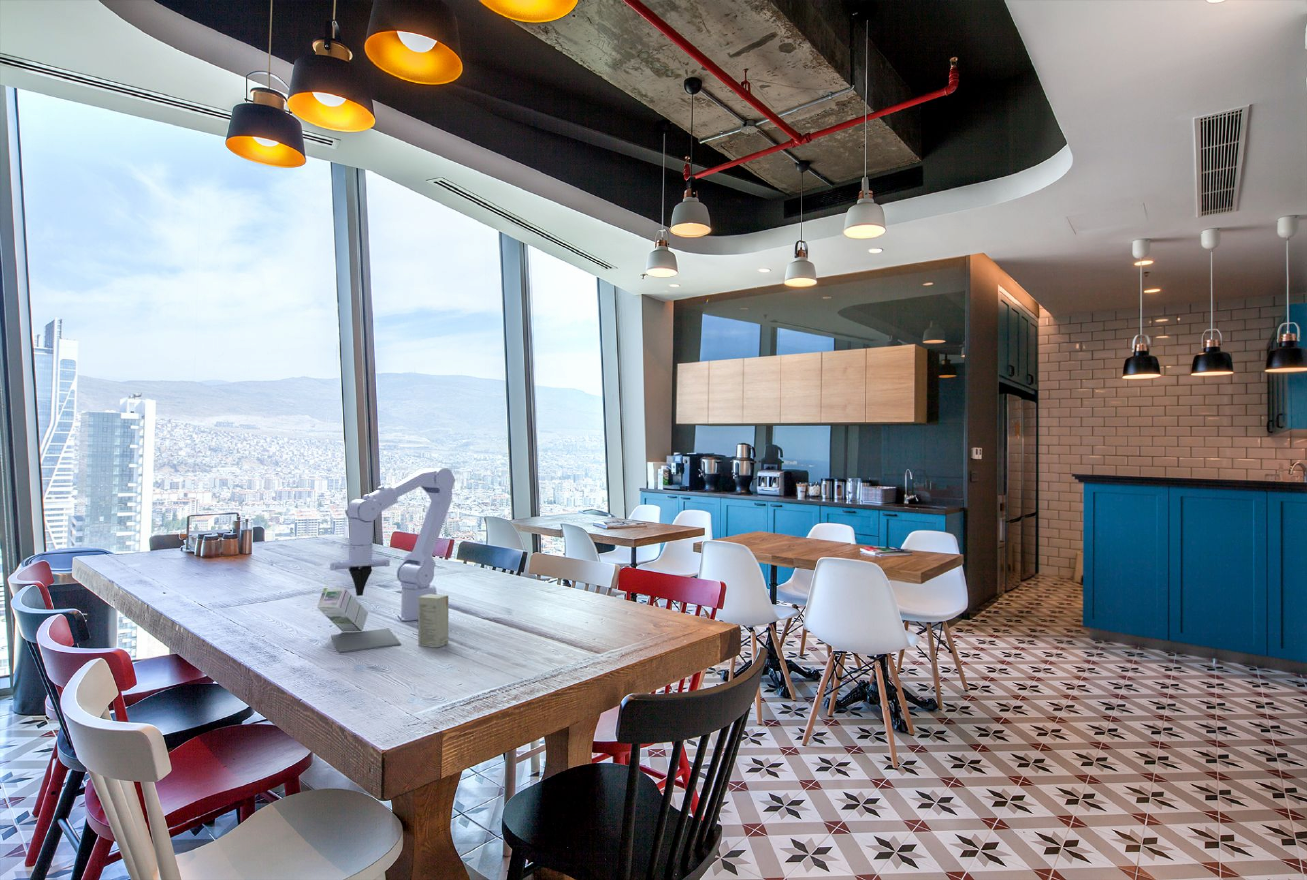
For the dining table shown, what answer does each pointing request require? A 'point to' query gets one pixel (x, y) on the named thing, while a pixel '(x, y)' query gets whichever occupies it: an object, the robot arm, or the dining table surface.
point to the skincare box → (433, 620)
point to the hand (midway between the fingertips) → (359, 595)
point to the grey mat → (364, 640)
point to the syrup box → (342, 609)
